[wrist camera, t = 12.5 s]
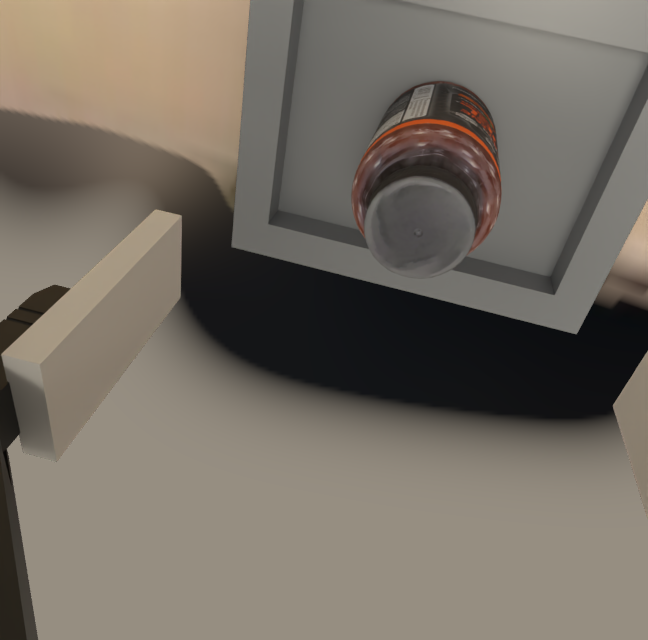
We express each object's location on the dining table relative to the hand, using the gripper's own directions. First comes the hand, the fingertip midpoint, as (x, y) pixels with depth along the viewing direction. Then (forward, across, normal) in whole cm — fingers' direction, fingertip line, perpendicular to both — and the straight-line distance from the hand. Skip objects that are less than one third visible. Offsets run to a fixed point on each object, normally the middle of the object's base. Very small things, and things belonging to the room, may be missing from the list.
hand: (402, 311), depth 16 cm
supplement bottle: (+17, 0, 0) cm, 17 cm away
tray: (+18, +1, 0) cm, 18 cm away
